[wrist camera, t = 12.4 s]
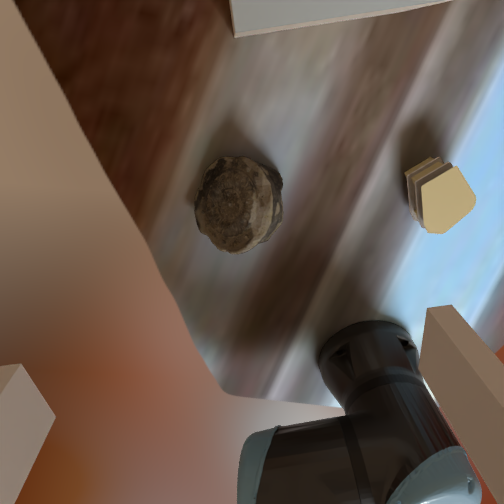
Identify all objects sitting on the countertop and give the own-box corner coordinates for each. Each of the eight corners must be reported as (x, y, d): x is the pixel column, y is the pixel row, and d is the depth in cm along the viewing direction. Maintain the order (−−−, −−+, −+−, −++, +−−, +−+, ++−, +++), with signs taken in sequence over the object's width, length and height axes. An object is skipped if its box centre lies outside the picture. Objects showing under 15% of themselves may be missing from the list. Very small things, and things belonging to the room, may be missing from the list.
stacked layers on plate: (372, 173, 42) (390, 189, 37) (444, 129, 40) (473, 140, 35) (403, 234, 47) (423, 255, 42) (469, 197, 44) (498, 215, 40)
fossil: (193, 144, 39) (238, 170, 31) (263, 144, 43) (317, 167, 36) (189, 235, 44) (227, 275, 36) (253, 226, 48) (298, 260, 41)
